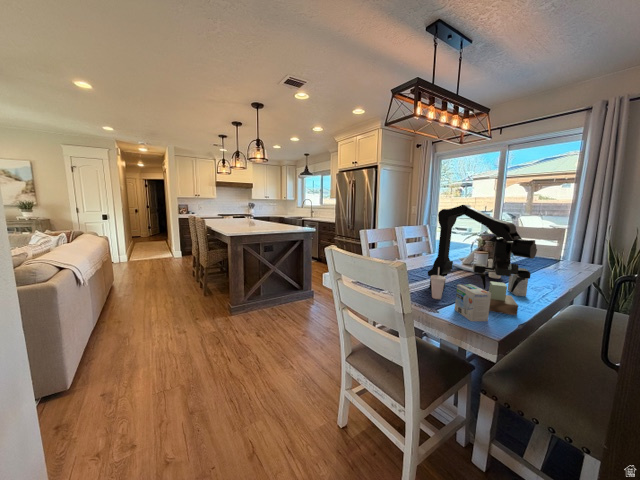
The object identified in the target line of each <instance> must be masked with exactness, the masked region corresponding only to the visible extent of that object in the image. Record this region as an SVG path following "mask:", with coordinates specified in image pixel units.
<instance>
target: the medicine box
mask: <svg viewBox="0 0 640 480" xmlns="http://www.w3.org/2000/svg"><path fill="white" fill-rule="evenodd" d="M513 275H515V274H511V276H509V277H508V285H507V292H508V291H509V292H510V288H511V283H512V278H513ZM528 283H529V279H527V278H525V280H522V281H520V282H519V283H518V284H517V286H516V287H515V289H514V291H513V292H512V293H511V294H513V295H514V296H516V297H527V291H528V285H529V284H528Z"/></svg>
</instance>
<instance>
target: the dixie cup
mask: <svg viewBox="0 0 640 480" xmlns="http://www.w3.org/2000/svg"><path fill="white" fill-rule="evenodd" d="M487 261H488V263H487V264H488V265H487V267H492V262H493V258H489V259H487ZM488 277H489V278H491V279H496V280H497V279H501V277H502V275H501V276H499V275H496V272H488Z"/></svg>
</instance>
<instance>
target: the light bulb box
mask: <svg viewBox="0 0 640 480" xmlns="http://www.w3.org/2000/svg"><path fill="white" fill-rule="evenodd" d="M490 299H491V293H489V291H487V290H486V289H484V288H481V287H479V286H477V285H474V284H470V283H469V284H457V285H456V294H455V304H454V310H455V312H457V313H459V314H460V315H461V316H463V317H464V318H465V319H467V320H469V321H470V322H488V321H489V315H490V314H489V313H490V311H489V307H490Z"/></svg>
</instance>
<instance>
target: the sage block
mask: <svg viewBox="0 0 640 480" xmlns="http://www.w3.org/2000/svg"><path fill="white" fill-rule="evenodd" d="M507 291H508V285H506V283H505V282H499V281H498V282H497V281H489V287H488V292H489V293H491V299H495V300H502V301H505V298H506V295H507Z"/></svg>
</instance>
